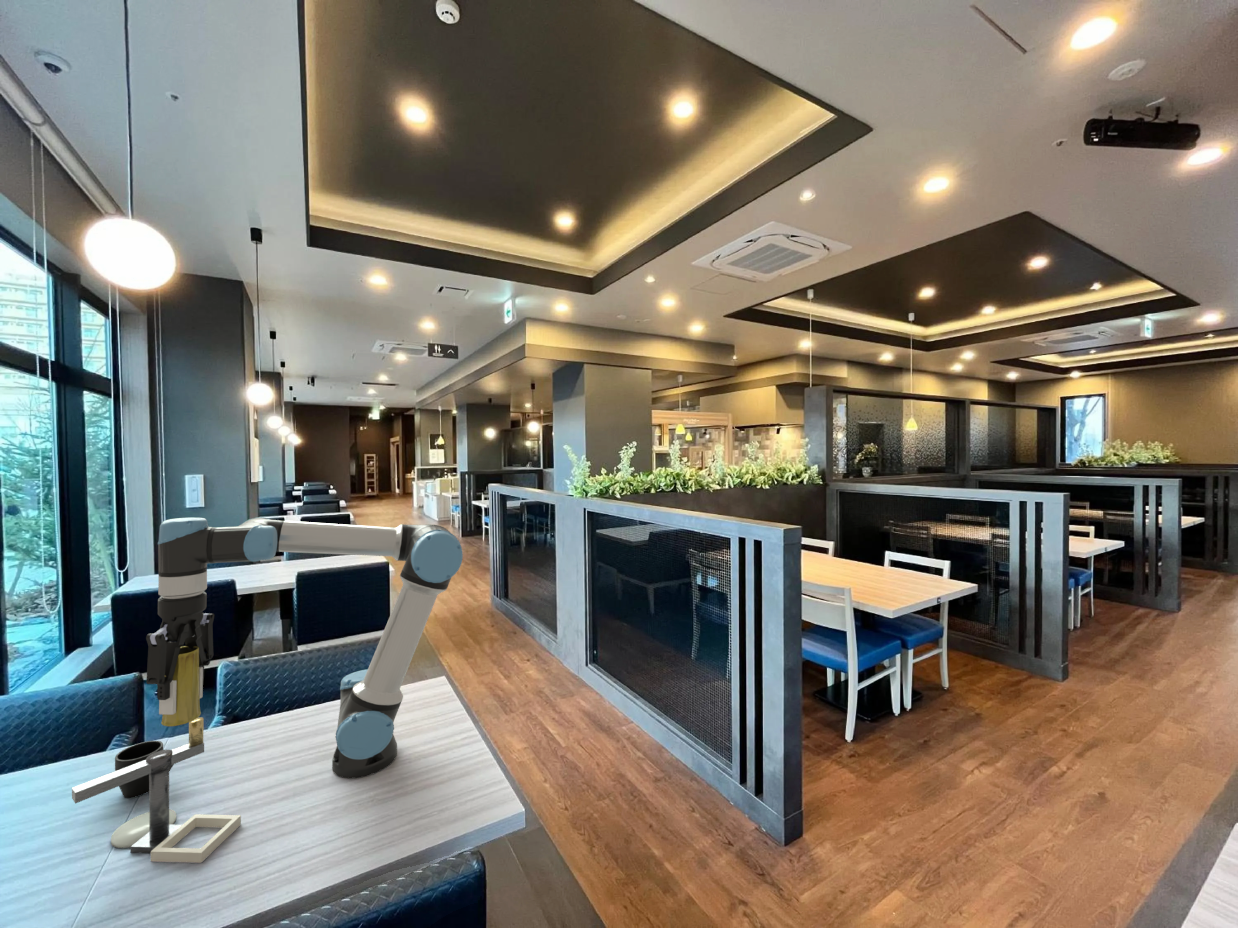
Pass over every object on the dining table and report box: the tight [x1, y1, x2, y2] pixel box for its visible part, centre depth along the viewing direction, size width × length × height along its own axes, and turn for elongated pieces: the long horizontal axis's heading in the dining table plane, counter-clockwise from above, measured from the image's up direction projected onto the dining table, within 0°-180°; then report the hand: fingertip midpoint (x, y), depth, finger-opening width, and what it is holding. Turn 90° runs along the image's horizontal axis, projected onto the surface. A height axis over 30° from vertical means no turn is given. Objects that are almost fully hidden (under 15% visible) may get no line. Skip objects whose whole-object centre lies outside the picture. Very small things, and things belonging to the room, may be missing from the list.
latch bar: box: [71, 716, 205, 804], centre depth 99 cm, size 19×4×7 cm, turn 147°
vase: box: [161, 645, 202, 727], centre depth 102 cm, size 6×6×14 cm
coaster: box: [110, 808, 177, 849], centre depth 105 cm, size 10×10×1 cm
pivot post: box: [129, 768, 183, 854], centre depth 102 cm, size 6×6×15 cm
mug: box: [114, 740, 175, 799], centre depth 117 cm, size 8×12×10 cm
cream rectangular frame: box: [150, 813, 242, 864], centre depth 102 cm, size 10×10×2 cm
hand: (181, 705), depth 102 cm, fingers closed on vase, 6 cm apart
